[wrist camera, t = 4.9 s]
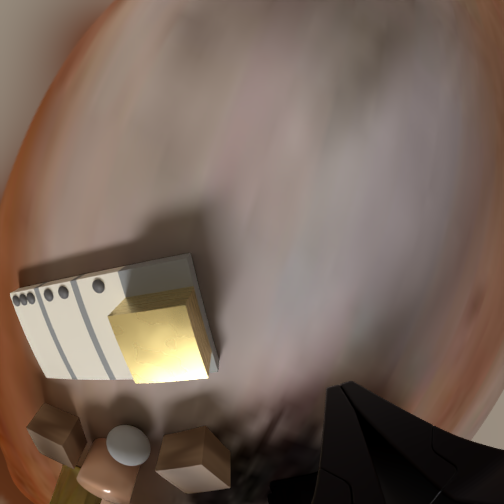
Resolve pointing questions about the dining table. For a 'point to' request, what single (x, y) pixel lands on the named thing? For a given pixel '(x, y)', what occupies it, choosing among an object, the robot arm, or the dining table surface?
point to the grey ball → (128, 445)
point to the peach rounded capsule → (107, 475)
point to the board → (95, 316)
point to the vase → (71, 489)
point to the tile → (162, 336)
